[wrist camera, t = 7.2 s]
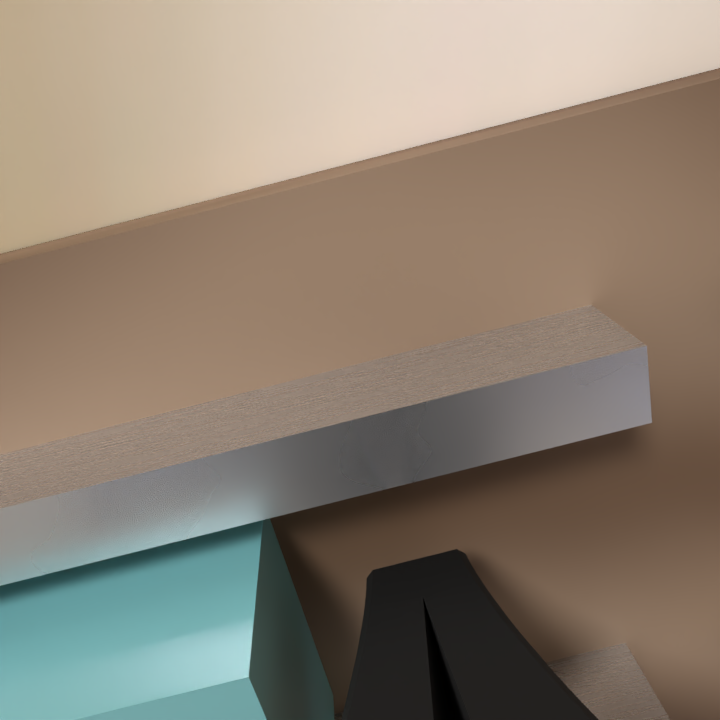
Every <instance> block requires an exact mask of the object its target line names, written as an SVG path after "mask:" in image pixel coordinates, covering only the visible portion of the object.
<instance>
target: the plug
mask: <svg viewBox="0 0 720 720" xmlns="http://www.w3.org/2000/svg"><path fill="white" fill-rule="evenodd" d="M0 720H335V719H334V700H333V693H332V690H331V688H330V685H329V682H328V679H327V676H326V674H325V671H324V668H323V665H322V663H321V660H320V657H319V654H318V651H317V649H316V646H315V643H314V640H313V637H312V635H311V632H310V629H309V626H308V624H307V621H306V618H305V615H304V612H303V610H302V607H301V604H300V601H299V598H298V596H297V593H296V590H295V587H294V585H293V582H292V579H291V576H290V573H289V571H288V568H287V565H286V562H285V559H284V557H283V554H282V551H281V548H280V546H279V543H278V540H277V537H276V534H275V532H274V529H273V526H272V523H271V520H270V518H269V519H265V520H261V521H257V522H253V523H249V524H245V525H241V526H237V527H233V528H229V529H225V530H221V531H217V532H213V533H209V534H205V535H201V536H197V537H193V538H189V539H185V540H181V541H177V542H173V543H169V544H165V545H161V546H157V547H153V548H149V549H145V550H141V551H137V552H133V553H129V554H125V555H121V556H117V557H113V558H109V559H105V560H101V561H97V562H93V563H89V564H85V565H81V566H77V567H73V568H69V569H65V570H61V571H57V572H53V573H49V574H45V575H41V576H37V577H33V578H29V579H25V580H21V581H17V582H13V583H9V584H5V585H1V586H0Z"/></svg>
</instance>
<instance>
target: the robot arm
mask: <svg viewBox="0 0 720 720" xmlns="http://www.w3.org/2000/svg"><path fill="white" fill-rule="evenodd" d="M341 720H599V719H598V718H597V717H596V716H595V715H594V714H593V713H592V712H591V711H590V710H589V709H588V708H587V707H586V706H585V705H584V704H583V703H582V702H581V701H580V700H579V699H578V698H577V697H576V696H575V694H574V693H573V692H572V691H571V690H570V689H569V688H568V687H567V686H566V685H565V684H564V683H563V681H562V680H561V679H560V678H559V677H558V676H557V675H556V674H555V673H554V672H553V670H552V669H551V668H550V667H549V666H548V665H547V663H546V662H545V661H544V660H543V659H542V658H541V656H540V655H539V654H538V653H537V652H536V651H535V649H534V648H533V647H532V646H531V645H530V644H529V642H528V641H527V640H526V639H525V638H524V637H523V635H522V634H521V633H520V632H519V631H518V629H517V628H516V627H515V626H514V624H513V623H512V622H511V621H510V619H509V618H508V617H507V615H506V614H505V613H504V611H503V610H502V609H501V607H500V606H499V605H498V603H497V602H496V601H495V599H494V598H493V597H492V595H491V594H490V592H489V591H488V590H487V588H486V587H485V585H484V584H483V582H482V581H481V579H480V578H479V576H478V575H477V573H476V571H475V570H474V568H473V566H472V565H471V563H470V561H469V559H468V557H467V555H466V554H465V553H463V552H461V551H460V550H458V549H455V550H451V551H447V552H443V553H439V554H435V555H431V556H427V557H423V558H419V559H415V560H411V561H407V562H403V563H399V564H395V565H391V566H387V567H383V568H379V569H375V570H372V572H371V573H370V574H369V576H368V577H367V582H366V598H365V607H364V615H363V621H362V628H361V633H360V639H359V644H358V650H357V655H356V659H355V664H354V668H353V672H352V677H351V681H350V685H349V690H348V694H347V698H346V703H345V707H344V711H343V714H342V718H341Z"/></svg>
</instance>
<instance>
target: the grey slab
mask: <svg viewBox="0 0 720 720" xmlns="http://www.w3.org/2000/svg"><path fill="white" fill-rule="evenodd" d="M649 423H652V416H651V400H650V385H649V370H648V355H647V346H646V345H645V344H644V343H642V342H641V341H640V340H638V339H637V338H636V337H634V336H633V335H632V334H630V333H629V332H628V331H626V330H625V329H623V328H622V327H621V326H619V325H618V324H617V323H615V322H614V321H613V320H611V319H610V318H609V317H607V316H606V315H604V314H603V313H602V312H600V311H599V310H598V309H596V308H595V307H594V306H592V305H589V306H585V307H581V308H577V309H573V310H569V311H565V312H561V313H557V314H553V315H549V316H545V317H541V318H537V319H533V320H529V321H526V322H522V323H518V324H514V325H510V326H506V327H502V328H498V329H494V330H490V331H486V332H482V333H478V334H474V335H470V336H466V337H462V338H458V339H454V340H451V341H447V342H443V343H439V344H435V345H431V346H427V347H423V348H419V349H415V350H411V351H407V352H403V353H399V354H395V355H391V356H387V357H383V358H379V359H376V360H372V361H368V362H364V363H360V364H356V365H352V366H348V367H344V368H340V369H336V370H332V371H328V372H324V373H320V374H316V375H312V376H308V377H305V378H301V379H297V380H293V381H289V382H285V383H281V384H277V385H273V386H269V387H265V388H261V389H257V390H253V391H249V392H245V393H241V394H237V395H233V396H230V397H226V398H222V399H218V400H214V401H210V402H206V403H202V404H198V405H194V406H190V407H186V408H182V409H178V410H174V411H170V412H166V413H162V414H158V415H155V416H151V417H147V418H143V419H139V420H135V421H131V422H127V423H123V424H119V425H115V426H111V427H107V428H103V429H99V430H95V431H91V432H87V433H83V434H80V435H76V436H72V437H68V438H64V439H60V440H56V441H52V442H48V443H44V444H40V445H36V446H32V447H28V448H24V449H20V450H16V451H12V452H9V453H5V454H1V455H0V586H1V585H5V584H9V583H13V582H17V581H21V580H25V579H29V578H33V577H37V576H41V575H45V574H49V573H53V572H57V571H61V570H65V569H69V568H73V567H77V566H81V565H85V564H89V563H93V562H97V561H101V560H105V559H109V558H113V557H117V556H121V555H125V554H129V553H133V552H137V551H141V550H145V549H149V548H153V547H157V546H161V545H165V544H169V543H173V542H177V541H181V540H185V539H189V538H193V537H197V536H201V535H205V534H209V533H213V532H217V531H221V530H225V529H229V528H233V527H237V526H241V525H245V524H249V523H253V522H257V521H261V520H265V519H269V518H273V517H277V516H281V515H285V514H289V513H293V512H297V511H301V510H305V509H309V508H313V507H317V506H321V505H325V504H329V503H333V502H337V501H341V500H345V499H349V498H353V497H357V496H361V495H365V494H369V493H373V492H377V491H381V490H385V489H389V488H393V487H397V486H401V485H405V484H409V483H413V482H417V481H421V480H425V479H429V478H433V477H437V476H441V475H445V474H449V473H453V472H457V471H461V470H465V469H469V468H473V467H477V466H481V465H485V464H489V463H493V462H497V461H501V460H505V459H509V458H513V457H517V456H521V455H525V454H529V453H533V452H537V451H541V450H545V449H549V448H553V447H557V446H561V445H565V444H569V443H573V442H577V441H581V440H585V439H589V438H593V437H597V436H601V435H605V434H609V433H613V432H617V431H621V430H625V429H629V428H633V427H637V426H641V425H645V424H649ZM546 663H547V665H548V666H549V667H550V668H551V669H552V670H553V672H554V673H555V674H556V675H557V676H558V677H559V678H560V679H561V680H562V681H563V683H564V684H565V685H566V686H567V687H568V688H569V689H570V690H571V691H572V692H573V693H574V694H575V696H576V697H577V698H578V699H579V700H580V701H581V702H582V703H583V704H584V705H585V706H586V707H587V708H588V709H589V710H590V711H591V712H592V713H593V714H594V715H595V716H596V717H597V718H598V719H599V720H670V718H669V717H668V715H667V713H666V711H665V710H664V708H663V706H662V705H661V703H660V701H659V699H658V698H657V696H656V694H655V693H654V691H653V689H652V688H651V686H650V684H649V682H648V681H647V679H646V677H645V676H644V674H643V672H642V670H641V669H640V667H639V665H638V664H637V662H636V660H635V658H634V657H633V655H632V653H631V652H630V650H629V648H628V647H627V645H626V643H623V644H619V645H615V646H611V647H607V648H603V649H599V650H594V651H590V652H586V653H582V654H578V655H574V656H570V657H566V658H562V659H558V660H554V661H550V662H546ZM342 714H343V712H341V713H337V714H334V719H335V720H341V718H342Z"/></svg>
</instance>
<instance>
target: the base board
mask: <svg viewBox="0 0 720 720" xmlns="http://www.w3.org/2000/svg"><path fill="white" fill-rule="evenodd" d="M589 305H592V306H594V307H595V308H596V309H598V310H599V311H600V312H602V313H603V314H604V315H606V316H607V317H609V318H610V319H611V320H613V321H614V322H615V323H617V324H618V325H619V326H621V327H622V328H623V329H625V330H626V331H628V332H629V333H630V334H632V335H633V336H634V337H636V338H637V339H638V340H640V341H641V342H642V343H644V344H645V345H646V346H647V355H648V370H649V385H650V400H651V416H652V423H649V424H645V425H641V426H637V427H633V428H629V429H625V430H621V431H617V432H613V433H609V434H605V435H601V436H597V437H593V438H589V439H585V440H581V441H577V442H573V443H569V444H565V445H561V446H557V447H553V448H549V449H545V450H541V451H537V452H533V453H529V454H525V455H521V456H517V457H513V458H509V459H505V460H501V461H497V462H493V463H489V464H485V465H481V466H477V467H473V468H469V469H465V470H461V471H457V472H453V473H449V474H445V475H441V476H437V477H433V478H429V479H425V480H421V481H417V482H413V483H409V484H405V485H401V486H397V487H393V488H389V489H385V490H381V491H377V492H373V493H369V494H365V495H361V496H357V497H353V498H349V499H345V500H341V501H337V502H333V503H329V504H325V505H321V506H317V507H313V508H309V509H305V510H301V511H297V512H293V513H289V514H285V515H281V516H277V517H273V518H270V520H271V523H272V526H273V529H274V532H275V534H276V537H277V540H278V543H279V546H280V548H281V551H282V554H283V557H284V559H285V562H286V565H287V568H288V571H289V573H290V576H291V579H292V582H293V585H294V587H295V590H296V593H297V596H298V598H299V601H300V604H301V607H302V610H303V612H304V615H305V618H306V621H307V624H308V626H309V629H310V632H311V635H312V637H313V640H314V643H315V646H316V649H317V651H318V654H319V657H320V660H321V663H322V665H323V668H324V671H325V674H326V676H327V679H328V682H329V685H330V688H331V690H332V693H333V700H334V714H337V713H341V712H343V711H344V707H345V703H346V698H347V694H348V690H349V685H350V681H351V677H352V672H353V668H354V664H355V659H356V655H357V650H358V644H359V639H360V633H361V628H362V621H363V615H364V607H365V598H366V582H367V577H368V576H369V574H370V573H371V572H372V570H375V569H379V568H383V567H387V566H391V565H395V564H399V563H403V562H407V561H411V560H415V559H419V558H423V557H427V556H431V555H435V554H439V553H443V552H447V551H451V550H455V549H458V550H460V551H461V552H463V553H465V554H466V555H467V557H468V559H469V561H470V563H471V565H472V566H473V568H474V570H475V571H476V573H477V575H478V576H479V578H480V579H481V581H482V582H483V584H484V585H485V587H486V588H487V590H488V591H489V592H490V594H491V595H492V597H493V598H494V599H495V601H496V602H497V603H498V605H499V606H500V607H501V609H502V610H503V611H504V613H505V614H506V615H507V617H508V618H509V619H510V621H511V622H512V623H513V624H514V626H515V627H516V628H517V629H518V631H519V632H520V633H521V634H522V635H523V637H524V638H525V639H526V640H527V641H528V642H529V644H530V645H531V646H532V647H533V648H534V649H535V651H536V652H537V653H538V654H539V655H540V656H541V658H542V659H543V660H544V661H545V662H550V661H554V660H558V659H562V658H566V657H570V656H574V655H578V654H582V653H586V652H590V651H594V650H599V649H603V648H607V647H611V646H615V645H619V644H623V643H626V645H627V647H628V648H629V650H630V652H631V653H632V655H633V657H634V658H635V660H636V662H637V664H638V665H639V667H640V669H641V670H642V672H643V674H644V676H645V677H646V679H647V681H648V682H649V684H650V686H651V688H652V689H653V691H654V693H655V694H656V696H657V698H658V699H659V701H660V703H661V705H662V706H663V708H664V710H665V711H666V713H667V715H668V717H669V718H670V720H720V68H719V69H715V70H711V71H707V72H703V73H699V74H695V75H692V76H688V77H684V78H680V79H676V80H672V81H668V82H664V83H661V84H657V85H653V86H649V87H645V88H641V89H637V90H634V91H630V92H626V93H622V94H618V95H614V96H610V97H606V98H603V99H599V100H595V101H591V102H587V103H583V104H579V105H575V106H572V107H568V108H564V109H560V110H556V111H552V112H548V113H545V114H541V115H537V116H533V117H529V118H525V119H521V120H517V121H514V122H510V123H506V124H502V125H498V126H494V127H490V128H486V129H483V130H479V131H475V132H471V133H467V134H463V135H459V136H456V137H452V138H448V139H444V140H440V141H436V142H432V143H428V144H425V145H421V146H417V147H413V148H409V149H405V150H401V151H397V152H394V153H390V154H386V155H382V156H378V157H374V158H370V159H367V160H363V161H359V162H355V163H351V164H347V165H343V166H339V167H336V168H332V169H328V170H324V171H320V172H316V173H312V174H308V175H305V176H301V177H297V178H293V179H289V180H285V181H281V182H278V183H274V184H270V185H266V186H262V187H258V188H254V189H250V190H247V191H243V192H239V193H235V194H231V195H227V196H223V197H219V198H216V199H212V200H208V201H204V202H200V203H196V204H192V205H189V206H185V207H181V208H177V209H173V210H169V211H165V212H161V213H158V214H154V215H150V216H146V217H142V218H138V219H134V220H130V221H127V222H123V223H119V224H115V225H111V226H107V227H103V228H99V229H96V230H92V231H88V232H84V233H80V234H76V235H72V236H69V237H65V238H61V239H57V240H53V241H49V242H45V243H41V244H38V245H34V246H30V247H26V248H22V249H18V250H14V251H10V252H7V253H3V254H0V455H1V454H5V453H9V452H12V451H16V450H20V449H24V448H28V447H32V446H36V445H40V444H44V443H48V442H52V441H56V440H60V439H64V438H68V437H72V436H76V435H80V434H83V433H87V432H91V431H95V430H99V429H103V428H107V427H111V426H115V425H119V424H123V423H127V422H131V421H135V420H139V419H143V418H147V417H151V416H155V415H158V414H162V413H166V412H170V411H174V410H178V409H182V408H186V407H190V406H194V405H198V404H202V403H206V402H210V401H214V400H218V399H222V398H226V397H230V396H233V395H237V394H241V393H245V392H249V391H253V390H257V389H261V388H265V387H269V386H273V385H277V384H281V383H285V382H289V381H293V380H297V379H301V378H305V377H308V376H312V375H316V374H320V373H324V372H328V371H332V370H336V369H340V368H344V367H348V366H352V365H356V364H360V363H364V362H368V361H372V360H376V359H379V358H383V357H387V356H391V355H395V354H399V353H403V352H407V351H411V350H415V349H419V348H423V347H427V346H431V345H435V344H439V343H443V342H447V341H451V340H454V339H458V338H462V337H466V336H470V335H474V334H478V333H482V332H486V331H490V330H494V329H498V328H502V327H506V326H510V325H514V324H518V323H522V322H526V321H529V320H533V319H537V318H541V317H545V316H549V315H553V314H557V313H561V312H565V311H569V310H573V309H577V308H581V307H585V306H589Z"/></svg>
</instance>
